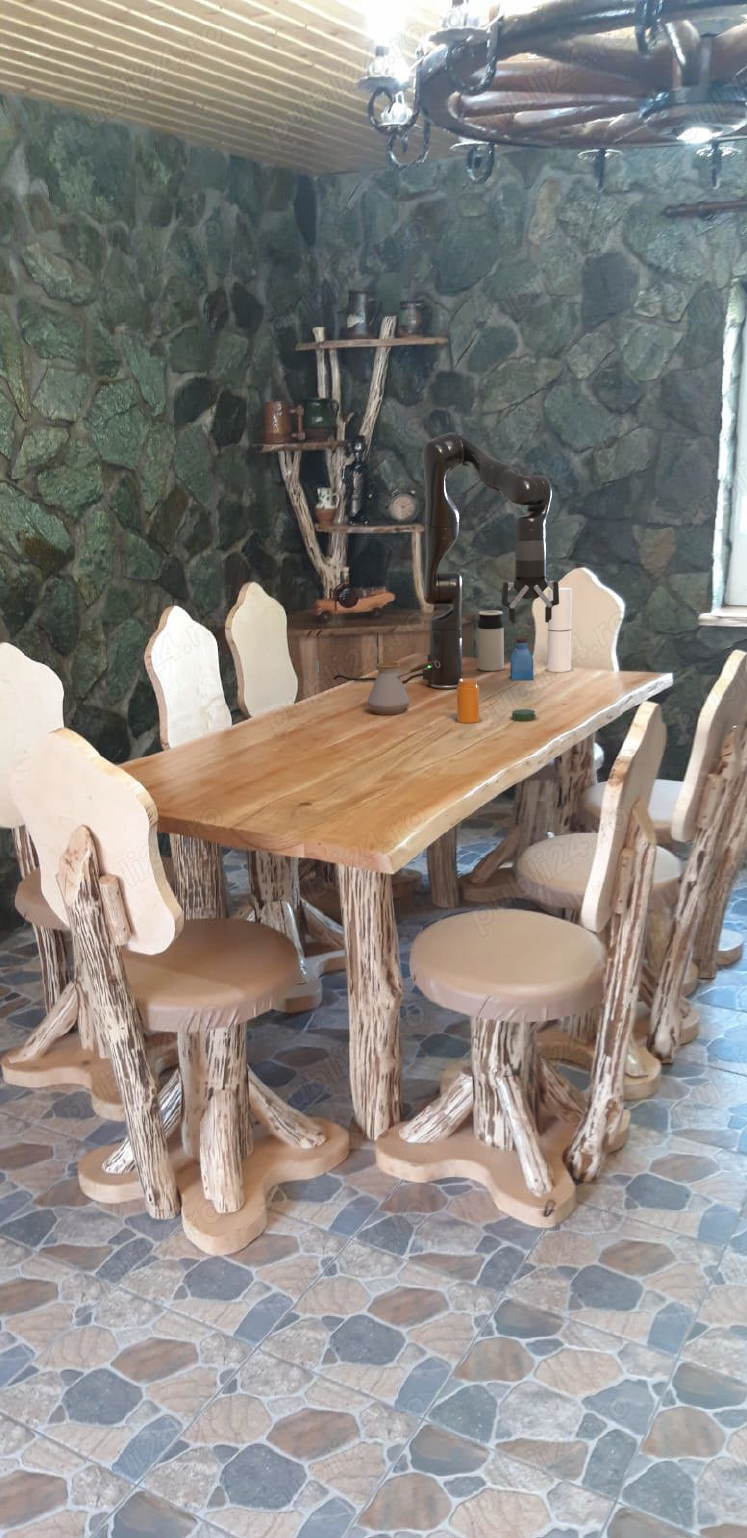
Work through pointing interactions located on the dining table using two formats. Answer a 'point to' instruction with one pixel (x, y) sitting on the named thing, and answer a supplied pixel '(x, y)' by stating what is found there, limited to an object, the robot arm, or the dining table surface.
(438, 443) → the robot arm
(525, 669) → the perfume bottle
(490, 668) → the travel mug
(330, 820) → the dining table surface
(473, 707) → the honey jar
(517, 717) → the honey lid
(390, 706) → the coffee pot
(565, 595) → the cylindrical container
